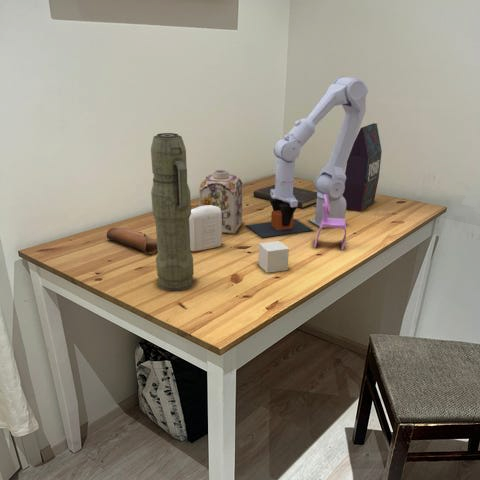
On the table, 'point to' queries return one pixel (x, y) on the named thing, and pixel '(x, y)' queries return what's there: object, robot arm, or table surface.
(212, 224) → the photo printer
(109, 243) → the table surface
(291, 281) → the table surface
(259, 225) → the back mat
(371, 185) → the decorative box
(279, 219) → the orange box
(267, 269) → the white cube
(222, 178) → the decorative jar
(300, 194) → the hardcover book
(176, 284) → the thermos
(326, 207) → the toy chair
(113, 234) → the sunglasses case
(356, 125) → the robot arm
